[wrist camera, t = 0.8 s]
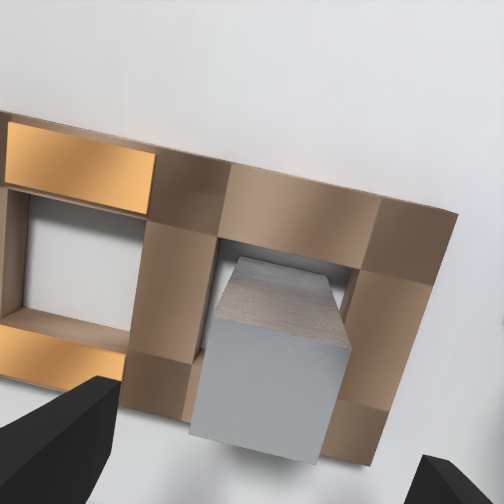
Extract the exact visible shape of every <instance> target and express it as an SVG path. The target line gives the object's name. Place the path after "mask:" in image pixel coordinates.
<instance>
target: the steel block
mask: <svg viewBox="0 0 504 504" xmlns="http://www.w3.org/2000/svg"><path fill="white" fill-rule="evenodd" d="M351 350H352V348H351V345H350V342H349V339H348V336H347V333H346V331H345V328H344V325H343V322H342V319H341V316H340V313H339V311H338V308H337V305H336V302H335V299H334V296H333V294H332V291H331V288H330V285H329V282H328V279H327V276H325V275H321V274H317V273H312V272H308V271H304V270H299V269H295V268H291V267H286V266H282V265H278V264H273V263H269V262H265V261H260V260H256V259H251V258H247V257H243V256H240V257H239V260H238V262H237V264H236V266H235V268H234V270H233V273H232V275H231V277H230V279H229V281H228V284H227V286H226V288H225V290H224V292H223V295H222V297H221V299H220V301H219V303H218V306H217V308H216V310H215V312H214V314H213V317H212V322H211V327H210V332H209V337H208V341H207V346H206V351H205V356H204V361H203V366H202V371H201V376H200V381H199V385H198V390H197V395H196V400H195V405H194V410H193V415H192V420H191V425H190V429H189V435H193V436H198V437H202V438H206V439H210V440H214V441H218V442H222V443H226V444H230V445H234V446H239V447H243V448H247V449H251V450H255V451H259V452H263V453H267V454H271V455H275V456H280V457H284V458H288V459H292V460H296V461H300V462H304V463H308V464H312V465H316V464H317V461H318V457H319V454H320V451H321V448H322V444H323V441H324V438H325V435H326V431H327V428H328V425H329V422H330V418H331V415H332V412H333V409H334V405H335V402H336V399H337V396H338V393H339V389H340V386H341V383H342V380H343V376H344V373H345V370H346V367H347V363H348V360H349V357H350V354H351Z"/></svg>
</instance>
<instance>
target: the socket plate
mask: <svg viewBox="0 0 504 504" xmlns="http://www.w3.org/2000/svg"><path fill="white" fill-rule="evenodd" d="M30 194H33V195H38V196H42V197H47V198H51V199H55V200H60V201H64V202H68V203H73V204H77V205H81V206H86V207H90V208H95V209H99V210H103V211H108V212H112V213H116V214H121V215H125V216H129V217H134V218H138V219H143V220H147V222H146V229H145V235H144V242H143V249H142V255H141V262H140V269H139V275H138V282H137V289H136V295H135V302H134V309H133V315H132V322H131V329H130V332H127V331H123V330H118V329H114V328H110V327H106V326H102V325H97V324H93V323H89V322H85V321H81V320H76V319H72V318H68V317H64V316H59V315H55V314H51V313H47V312H43V311H38V310H34V309H30V308H26V307H22V296H23V282H24V268H25V255H26V241H27V227H28V213H29V200H30ZM457 217H458V214H456V213H453V212H450V211H447V210H444V209H440V208H435V207H431V206H426V205H422V204H417V203H413V202H409V201H404V200H400V199H395V198H391V197H386V196H382V195H377V194H373V193H368V192H364V191H359V190H355V189H350V188H346V187H341V186H337V185H332V184H328V183H323V182H319V181H314V180H310V179H305V178H301V177H297V176H292V175H288V174H283V173H279V172H274V171H270V170H265V169H261V168H256V167H252V166H247V165H243V164H238V163H234V162H229V161H225V160H220V159H216V158H211V157H207V156H202V155H198V154H194V153H189V152H185V151H180V150H176V149H171V148H167V147H162V146H158V145H153V144H149V143H144V142H140V141H135V140H131V139H126V138H122V137H117V136H113V135H108V134H104V133H99V132H95V131H90V130H86V129H82V128H77V127H73V126H68V125H64V124H59V123H55V122H50V121H46V120H41V119H37V118H32V117H28V116H23V115H19V114H14V113H10V112H5V111H1V110H0V377H3V378H8V379H12V380H16V381H20V382H24V383H28V384H32V385H36V386H40V387H45V388H49V389H53V390H57V391H61V392H65V393H66V392H68V391H69V390H71V389H73V388H75V387H76V386H78V385H80V384H82V383H83V382H85V381H87V380H89V379H91V378H92V377H94V376H96V375H99V376H103V377H107V378H111V379H115V380H119V381H122V382H121V389H120V396H119V402H118V406H123V407H127V408H131V409H135V410H139V411H143V412H147V413H151V414H155V415H160V416H164V417H168V418H172V419H176V420H180V421H184V422H188V423H191V420H192V415H193V410H194V405H195V400H196V395H197V390H198V385H199V381H200V376H201V371H202V366H203V361H204V356H205V351H206V350H202V349H199V347H200V342H201V337H202V332H203V327H204V322H205V317H206V312H207V307H208V302H209V297H210V292H211V287H212V282H213V277H214V272H215V267H216V262H217V257H218V252H219V247H220V242H221V238H225V239H230V240H234V241H239V242H243V243H247V244H252V245H256V246H260V247H265V248H269V249H274V250H278V251H282V252H287V253H291V254H295V255H300V256H304V257H308V258H313V259H317V260H322V261H326V262H330V263H335V264H339V265H343V266H348V267H352V269H351V273H350V276H349V280H348V283H347V287H346V290H345V294H344V297H343V300H342V304H341V307H340V311H339V313H340V316H341V319H342V322H343V325H344V328H345V331H346V333H347V336H348V339H349V342H350V345H351V348H352V350H351V354H350V357H349V360H348V363H347V367H346V370H345V373H344V376H343V380H342V383H341V386H340V389H339V393H338V396H337V399H336V402H335V405H334V409H333V412H332V415H331V418H330V422H329V425H328V428H327V431H326V435H325V438H324V441H323V444H322V448H321V451H320V455H324V456H328V457H332V458H336V459H340V460H344V461H348V462H353V463H357V464H361V465H365V466H369V467H370V466H371V463H372V460H373V457H374V454H375V452H376V449H377V446H378V443H379V440H380V437H381V434H382V432H383V429H384V426H385V423H386V420H387V417H388V414H389V412H390V409H391V406H392V403H393V400H394V397H395V394H396V392H397V389H398V386H399V383H400V380H401V377H402V374H403V372H404V369H405V366H406V363H407V360H408V357H409V354H410V351H411V349H412V346H413V343H414V340H415V337H416V334H417V331H418V329H419V326H420V323H421V320H422V317H423V314H424V311H425V309H426V306H427V303H428V300H429V297H430V294H431V291H432V289H433V286H434V283H435V280H436V277H437V274H438V271H439V269H440V266H441V263H442V260H443V257H444V254H445V251H446V249H447V246H448V243H449V240H450V237H451V234H452V231H453V229H454V226H455V223H456V220H457Z"/></svg>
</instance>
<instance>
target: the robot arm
mask: <svg viewBox="0 0 504 504" xmlns="http://www.w3.org/2000/svg"><path fill="white" fill-rule="evenodd" d="M121 382H122V381H119V380H115V379H111V378H107V377H103V376H99V375H96V376H94V377H92V378H91V379H89V380H87V381H85V382H83V383H82V384H80V385H78V386H76V387H75V388H73V389H71V390H69V391H68V392H66V393H64V394H62V395H61V396H59V397H57V398H55V399H54V400H52V401H50V402H48V403H47V404H45V405H43V406H41V407H39V408H37V409H36V410H34V411H32V412H30V413H28V414H26V415H25V416H23V417H21V418H19V419H17V420H15V421H14V422H12V423H10V424H8V425H6V426H4V427H2V428H0V504H85V503H86V501H87V500H88V498H89V497H90V495H91V493H92V491H93V489H94V487H95V485H96V483H97V481H98V479H99V477H100V475H101V472H102V470H103V468H104V466H105V464H106V462H107V460H108V458H109V456H110V454H111V449H112V442H113V436H114V429H115V422H116V416H117V409H118V402H119V396H120V389H121ZM404 504H493V503H492V502H491V501H490V500H489V499H488V498H487V497H486V496H485V495H484V494H483V493H482V492H481V491H480V490H479V489H478V488H477V487H476V486H475V485H474V484H473V483H472V482H471V481H470V480H469V479H468V478H467V477H466V476H465V475H464V474H463V473H462V472H461V471H460V470H459V469H458V468H457V467H456V466H455V465H454V464H452V463H451V462H450V461H449V460H445V459H441V458H436V457H432V456H428V455H424V454H423V455H422V458H421V460H420V463H419V466H418V468H417V471H416V473H415V476H414V479H413V481H412V484H411V486H410V489H409V491H408V494H407V497H406V499H405V502H404Z"/></svg>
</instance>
